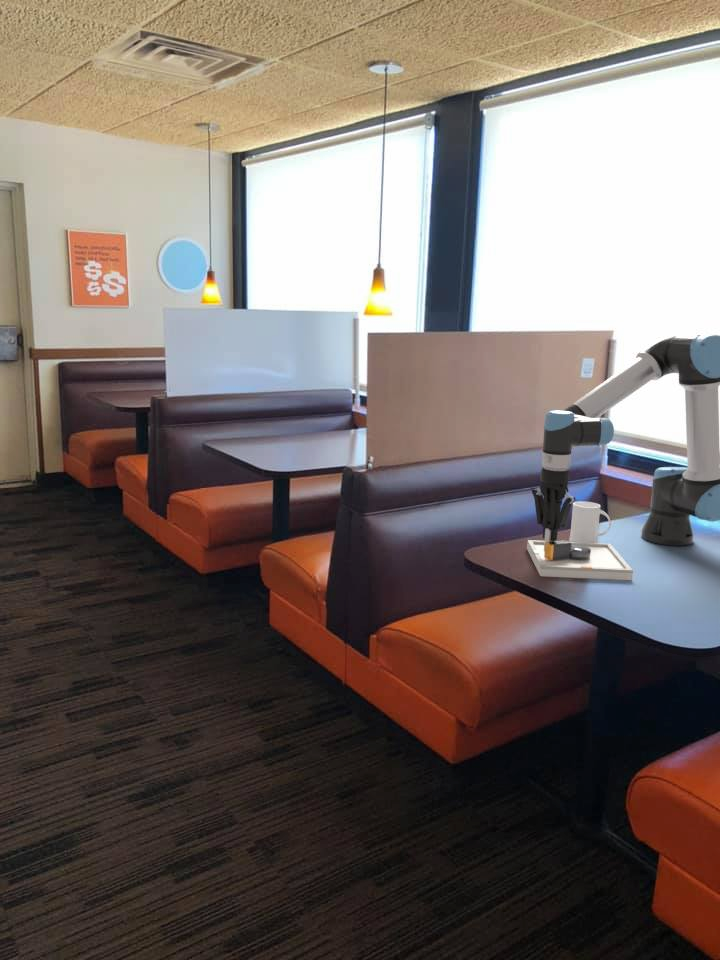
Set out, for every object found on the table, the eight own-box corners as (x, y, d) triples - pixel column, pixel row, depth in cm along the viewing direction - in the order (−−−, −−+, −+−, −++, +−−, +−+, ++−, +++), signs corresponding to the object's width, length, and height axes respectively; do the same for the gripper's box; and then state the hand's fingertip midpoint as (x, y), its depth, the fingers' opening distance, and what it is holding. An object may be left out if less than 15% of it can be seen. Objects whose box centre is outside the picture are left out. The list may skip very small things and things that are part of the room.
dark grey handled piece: (579, 550, 218) (580, 535, 217) (595, 557, 212) (597, 542, 211) (539, 555, 213) (540, 540, 212) (554, 562, 206) (556, 547, 205)
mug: (611, 543, 234) (615, 505, 232) (603, 550, 227) (607, 511, 225) (574, 536, 241) (577, 499, 238) (565, 542, 234) (568, 505, 231)
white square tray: (609, 552, 225) (610, 542, 224) (631, 580, 201) (633, 569, 201) (526, 549, 226) (527, 539, 226) (540, 576, 203) (541, 565, 202)
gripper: (527, 465, 209) (521, 547, 215) (567, 474, 200) (560, 559, 205) (544, 462, 214) (537, 542, 219) (584, 470, 204) (576, 554, 210)
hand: (548, 550), depth 212 cm, fingers closed
